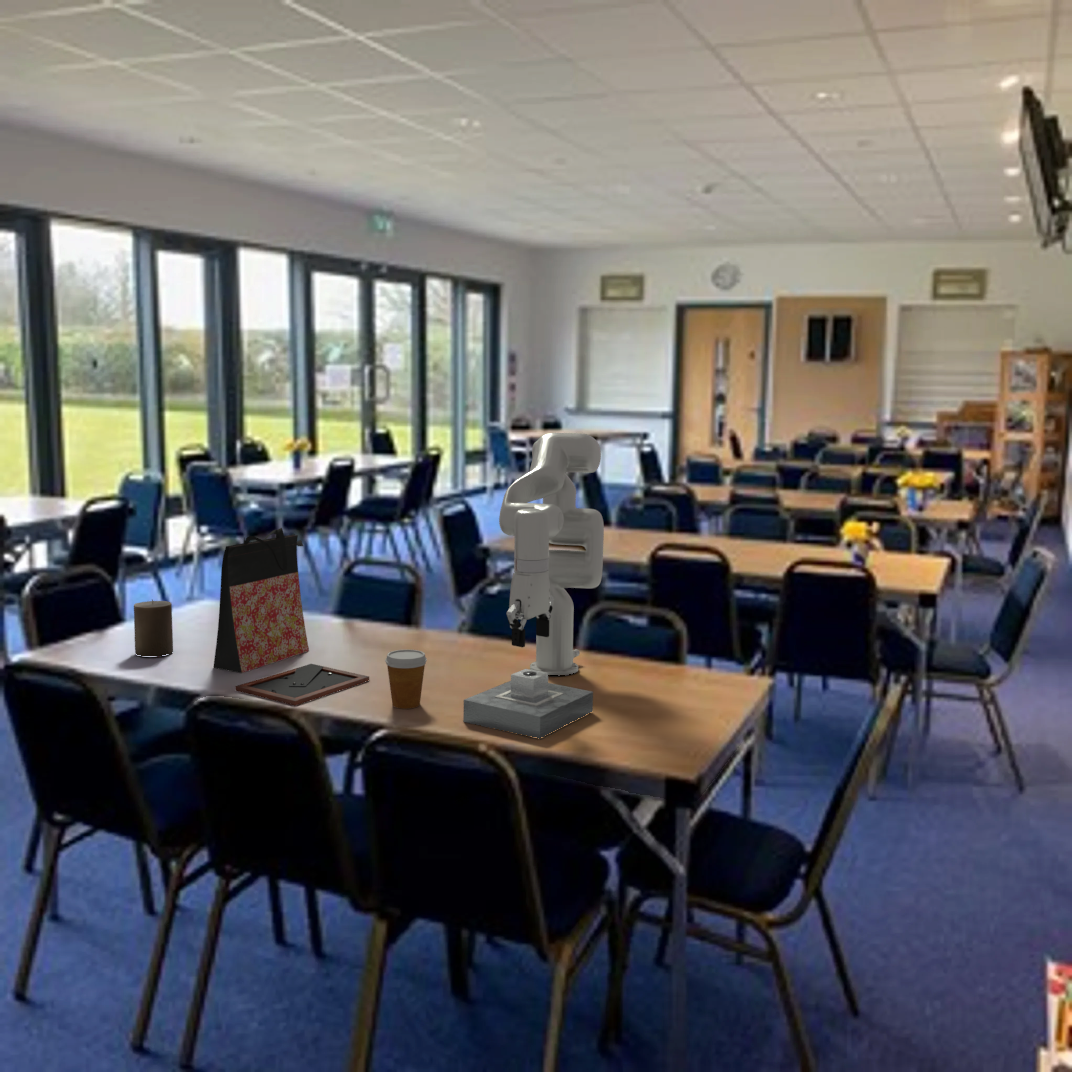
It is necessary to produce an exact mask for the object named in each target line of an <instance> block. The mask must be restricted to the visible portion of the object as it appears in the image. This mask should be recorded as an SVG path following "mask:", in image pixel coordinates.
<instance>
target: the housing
mask: <svg viewBox="0 0 1072 1072" xmlns="http://www.w3.org/2000/svg"><path fill="white" fill-rule="evenodd" d="M510 681H511V697H515V698H520V699H525V700H530V701H535V700H537V699H540V698H542V697H544V696H546V695H548V683H549V676H548V673H546V672H541V671H535V670H530V668H524V669H522V670H519V671H516V672H514V673H512V674H510Z"/></svg>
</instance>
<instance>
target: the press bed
mask: <svg viewBox="0 0 1072 1072" xmlns="http://www.w3.org/2000/svg"><path fill="white" fill-rule="evenodd" d="M593 701H594V691H592V690H587V689H586V690H585V689H581V688H575V687H573V686H572V687H571V686H566V685H561V684H557V683H552V682H551V683H550V682H548V695H546V696H544V697H542V698H540V699H537V700H535V701H530V700H525V699H520V698H515V697H511V680H509V681H507V682H505V683H501V684H500V685H497V686H494V687H491V688H489V689H487V690H483V691H482V692H479V693H477V694H475V695H472V696H469V697H467V698H464V699H463V716H462V717H463V720H462V721H463V723H467V724H471V725H475V724H476V726H479V725H481V726H480V727H485V728H488V727H489V729H492V728H495V729H494V730H496V729H499V730H498V731H501V730H504V731H503V732H505V731H509V732H513V733H517V734H516V735H518V734H522V735H527V736H532V737H537V738H539V739H540V738H541V737H544V736H545V735H547V734H549V733H551V732H553V731H555V730H557V729H559V728H561V727H563V726H564V725H566V724H569V723H570V722H572V721H575V720H577V719H578V718H581V717H583V716H585V715H586V714H588V713H590V712H592V711H593V710H594V709H593V708H594V707H593V706H594V705H593V704H594V703H593ZM509 732H508V733H509ZM513 733H512V734H513ZM522 735H521V736H522ZM544 738H545V737H544ZM539 739H538V740H539ZM540 740H541V739H540Z"/></svg>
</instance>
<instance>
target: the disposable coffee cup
mask: <svg viewBox="0 0 1072 1072" xmlns="http://www.w3.org/2000/svg"><path fill="white" fill-rule="evenodd" d="M427 661H428V659H427V657H426V653H425V652H424V651H422V650H418V649H417V650H416V649H397V650H392V651H390V652H388V653H387V654H386V658H385V659H384V662H385V664H386V666H387V672H388V673H387V674H388V682H389V688H390V689H389V690H390V695H391V705H392V707H394V708H396V709H402V710H409V709H415V708H418V707H420V705H421V699H422V697H421V696H422V688H423V681H424V673H425V667H426V662H427Z"/></svg>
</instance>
